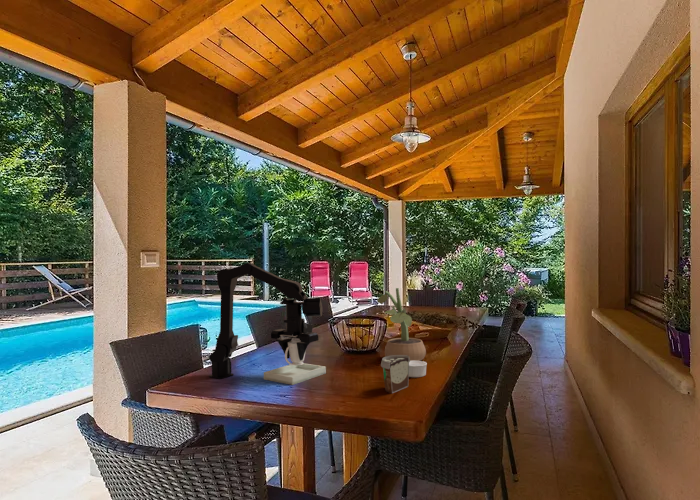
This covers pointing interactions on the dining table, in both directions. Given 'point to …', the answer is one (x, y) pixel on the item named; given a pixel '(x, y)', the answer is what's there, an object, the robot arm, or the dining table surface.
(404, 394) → the dining table surface
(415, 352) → the potted plant
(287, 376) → the tray
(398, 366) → the food container
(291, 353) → the cup
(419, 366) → the ramekin
